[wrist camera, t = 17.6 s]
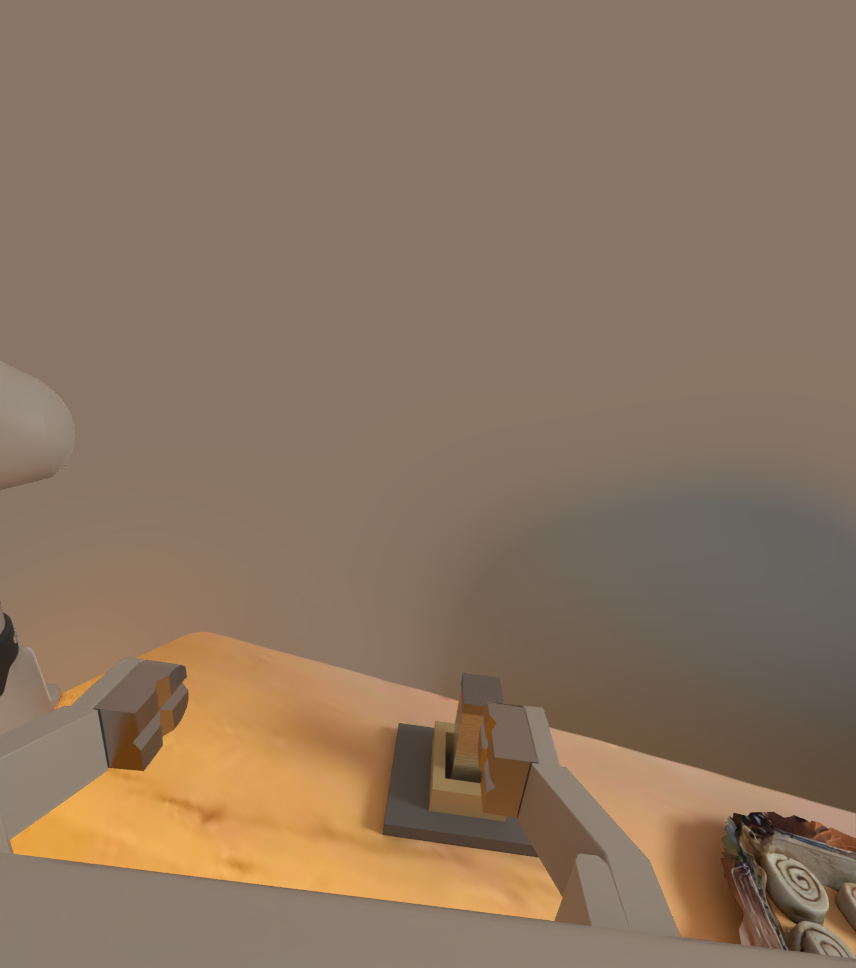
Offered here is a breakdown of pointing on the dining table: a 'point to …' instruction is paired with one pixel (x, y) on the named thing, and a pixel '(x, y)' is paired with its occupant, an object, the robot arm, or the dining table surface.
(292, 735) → the dining table surface
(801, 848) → the baking tray
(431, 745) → the keeper plate
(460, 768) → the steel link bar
